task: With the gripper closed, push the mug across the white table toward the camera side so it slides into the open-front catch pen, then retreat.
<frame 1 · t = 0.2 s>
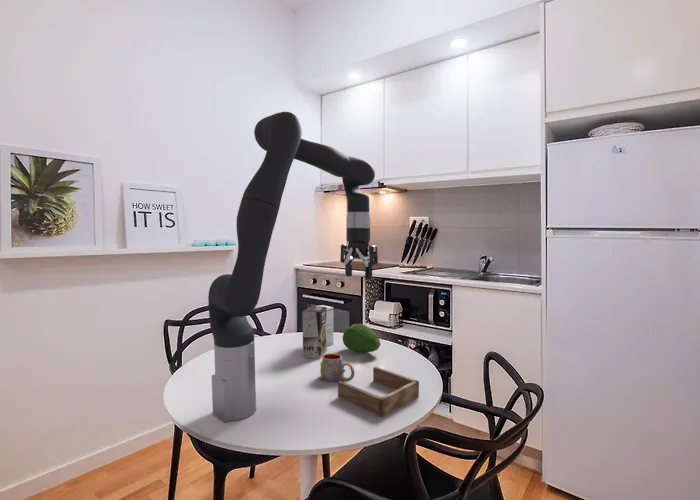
hand: (358, 277, 121), 28 cm above the table, fingers open, 8 cm apart
mug: (338, 381, 110), on the table
coffee box: (315, 354, 133), on the table
fruit: (361, 353, 133), on the table
catch pen: (379, 397, 99), on the table
syrup box: (323, 345, 143), on the table
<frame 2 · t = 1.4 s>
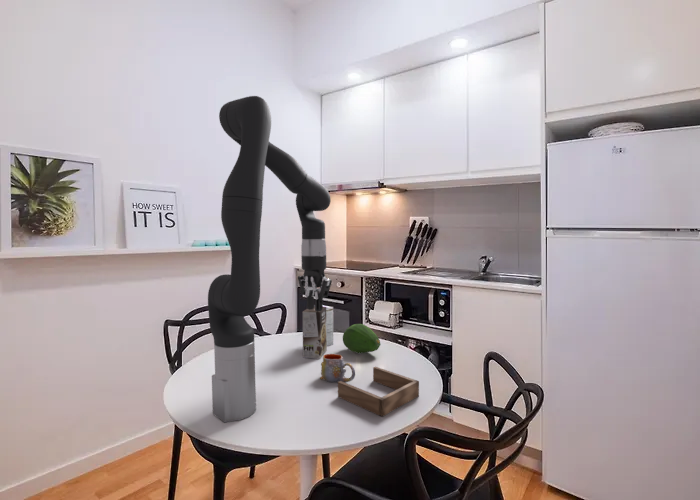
hand: (314, 309, 116), 19 cm above the table, fingers open, 3 cm apart
nothing on the table moved.
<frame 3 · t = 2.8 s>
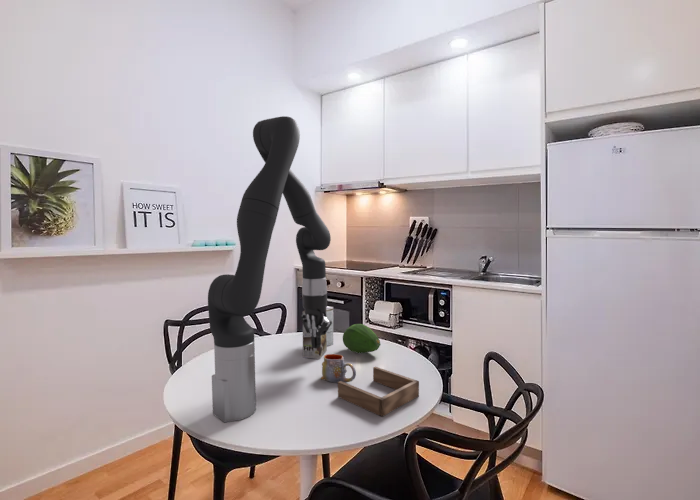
hand: (316, 347, 117), 7 cm above the table, fingers closed
nothing on the table moved.
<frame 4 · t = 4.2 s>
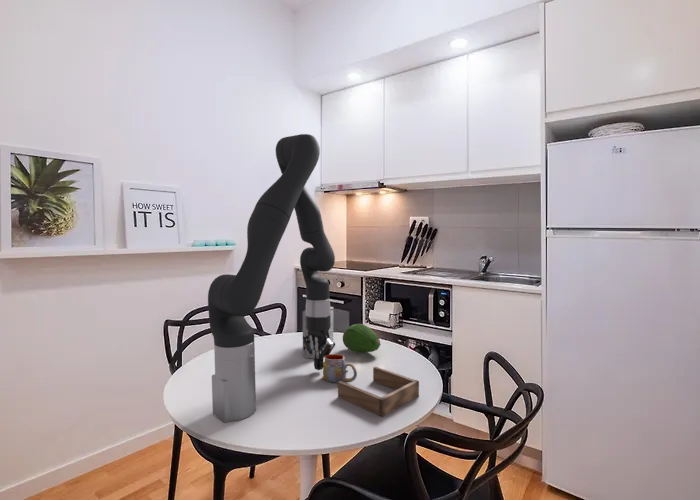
hand: (318, 369, 116), 1 cm above the table, fingers closed
mug: (340, 381, 109), on the table, touching hand
everything else where it was.
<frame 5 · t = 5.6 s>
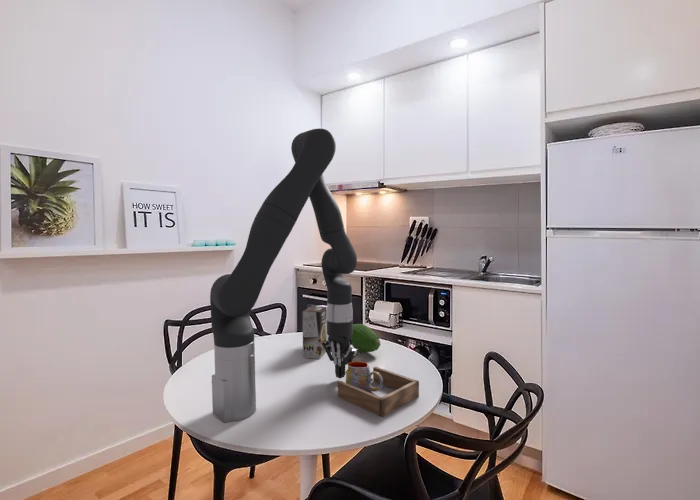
hand: (340, 377, 109), 1 cm above the table, fingers closed
mug: (364, 390, 103), on the table, touching hand
everything else where it was.
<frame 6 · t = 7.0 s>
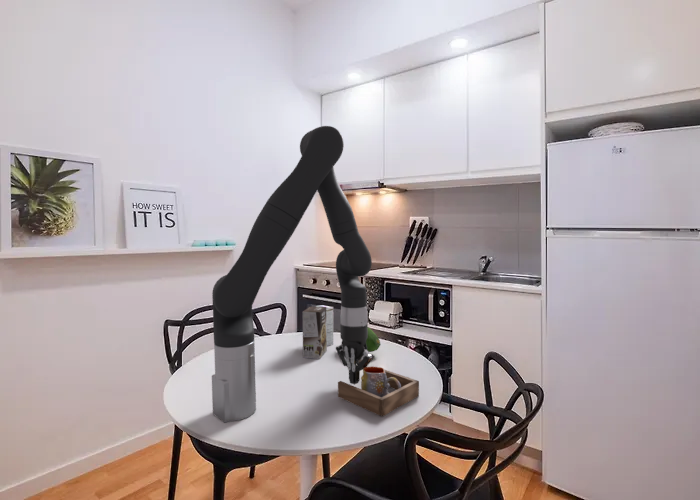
hand: (354, 383, 105), 1 cm above the table, fingers closed
mug: (381, 397, 99), on the table, touching catch pen, hand
everything else where it was.
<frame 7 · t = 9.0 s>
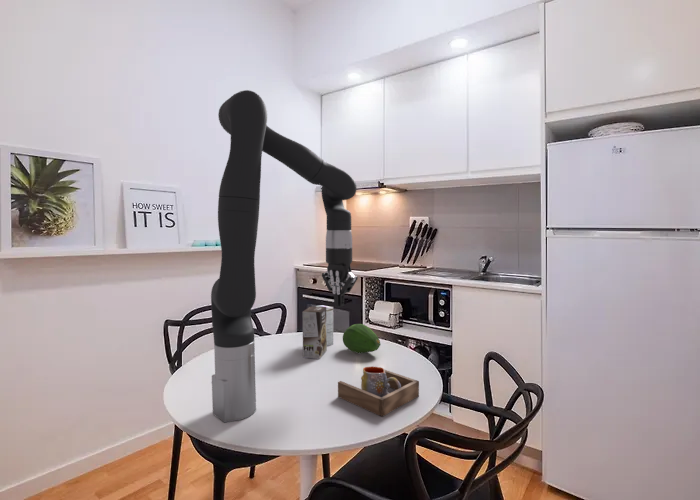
hand: (339, 306, 108), 22 cm above the table, fingers closed
mug: (381, 397, 99), on the table, touching catch pen
everything else where it was.
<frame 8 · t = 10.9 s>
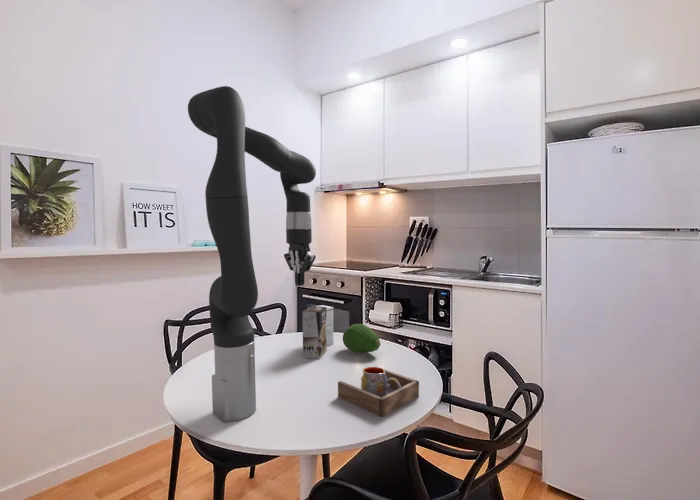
hand: (299, 285, 114), 27 cm above the table, fingers closed
mug: (381, 397, 99), on the table
everything else where it was.
at the end: mug inside the target area (1.2 cm from its centre), on the table; mug tilted 0° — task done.
